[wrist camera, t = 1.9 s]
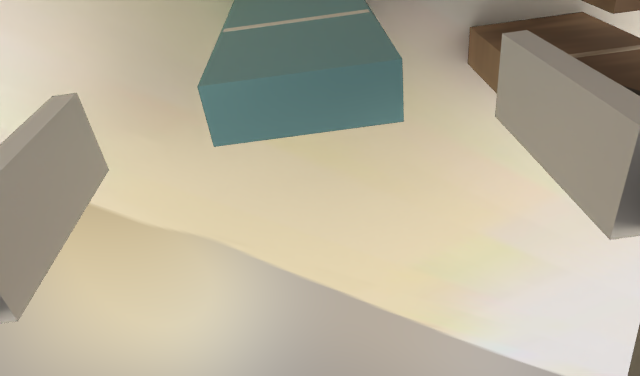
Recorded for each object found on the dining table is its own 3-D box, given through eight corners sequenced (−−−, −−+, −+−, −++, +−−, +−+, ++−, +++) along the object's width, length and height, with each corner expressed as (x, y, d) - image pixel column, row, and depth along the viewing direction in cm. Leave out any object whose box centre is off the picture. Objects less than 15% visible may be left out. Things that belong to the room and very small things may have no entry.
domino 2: (582, 11, 25) (777, 99, 15) (575, 49, 26) (752, 155, 16) (469, 26, 25) (589, 124, 15) (467, 64, 27) (578, 178, 16)
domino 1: (353, -18, 24) (401, 57, 14) (356, 24, 25) (403, 122, 15) (234, -2, 24) (197, 85, 14) (243, 39, 25) (214, 147, 15)
